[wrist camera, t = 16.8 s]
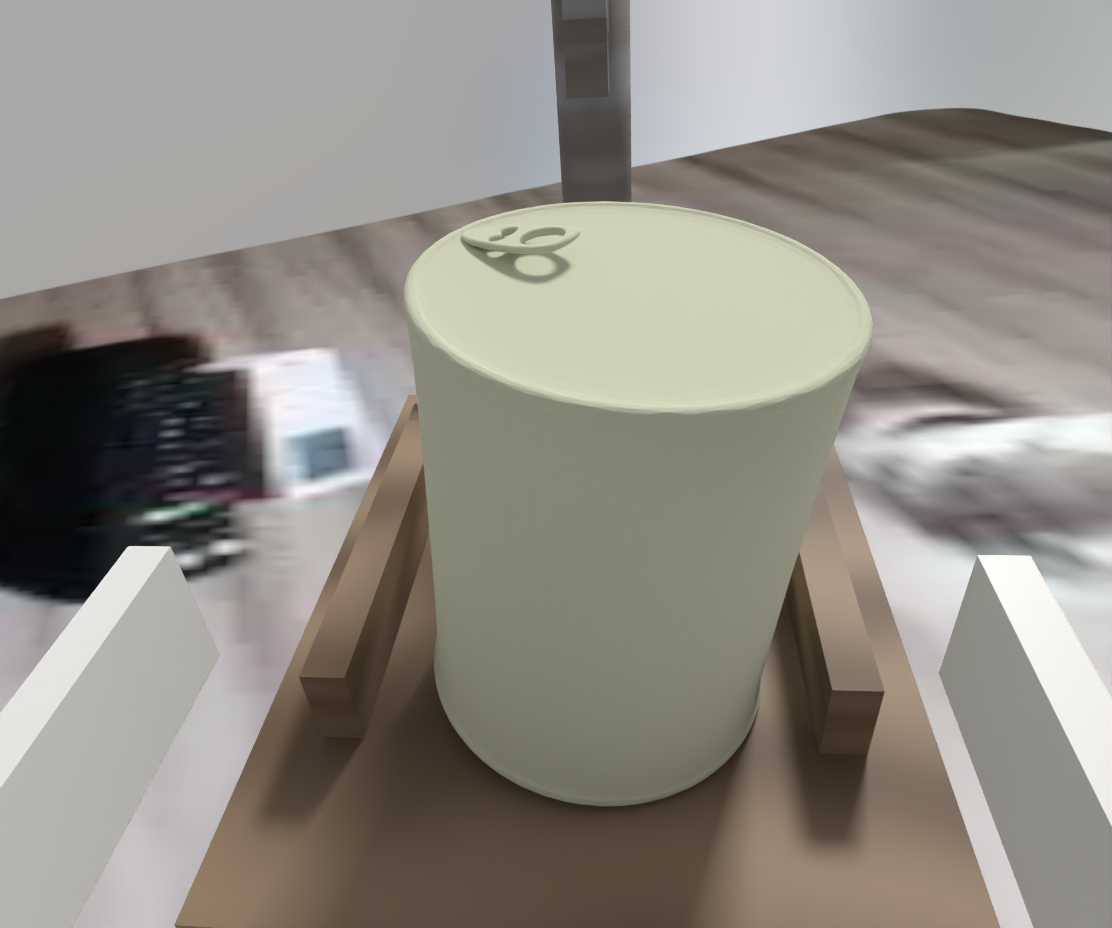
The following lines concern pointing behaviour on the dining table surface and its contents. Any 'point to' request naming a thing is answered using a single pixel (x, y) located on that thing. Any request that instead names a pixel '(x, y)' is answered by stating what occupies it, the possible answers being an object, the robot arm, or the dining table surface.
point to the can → (619, 479)
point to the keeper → (567, 828)
